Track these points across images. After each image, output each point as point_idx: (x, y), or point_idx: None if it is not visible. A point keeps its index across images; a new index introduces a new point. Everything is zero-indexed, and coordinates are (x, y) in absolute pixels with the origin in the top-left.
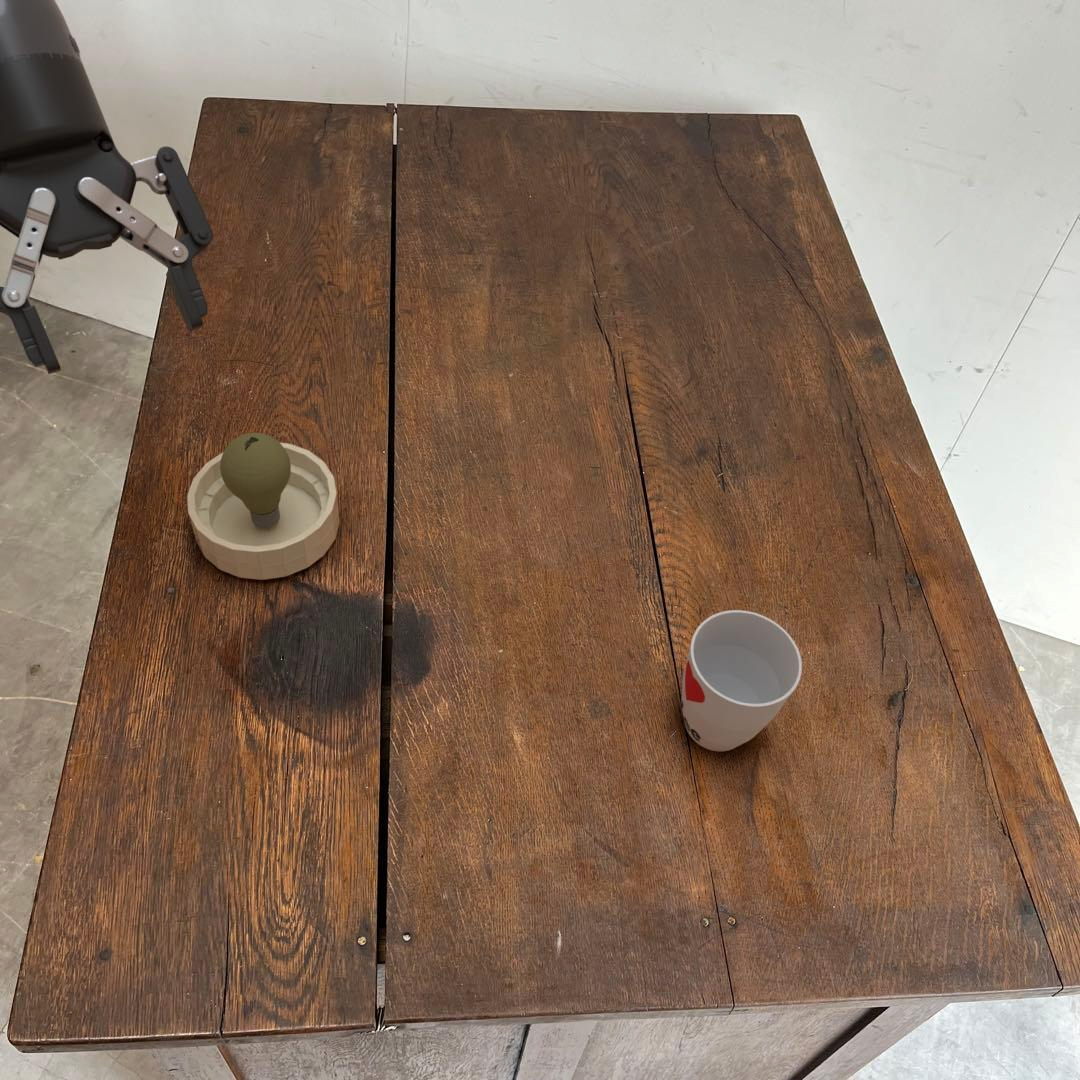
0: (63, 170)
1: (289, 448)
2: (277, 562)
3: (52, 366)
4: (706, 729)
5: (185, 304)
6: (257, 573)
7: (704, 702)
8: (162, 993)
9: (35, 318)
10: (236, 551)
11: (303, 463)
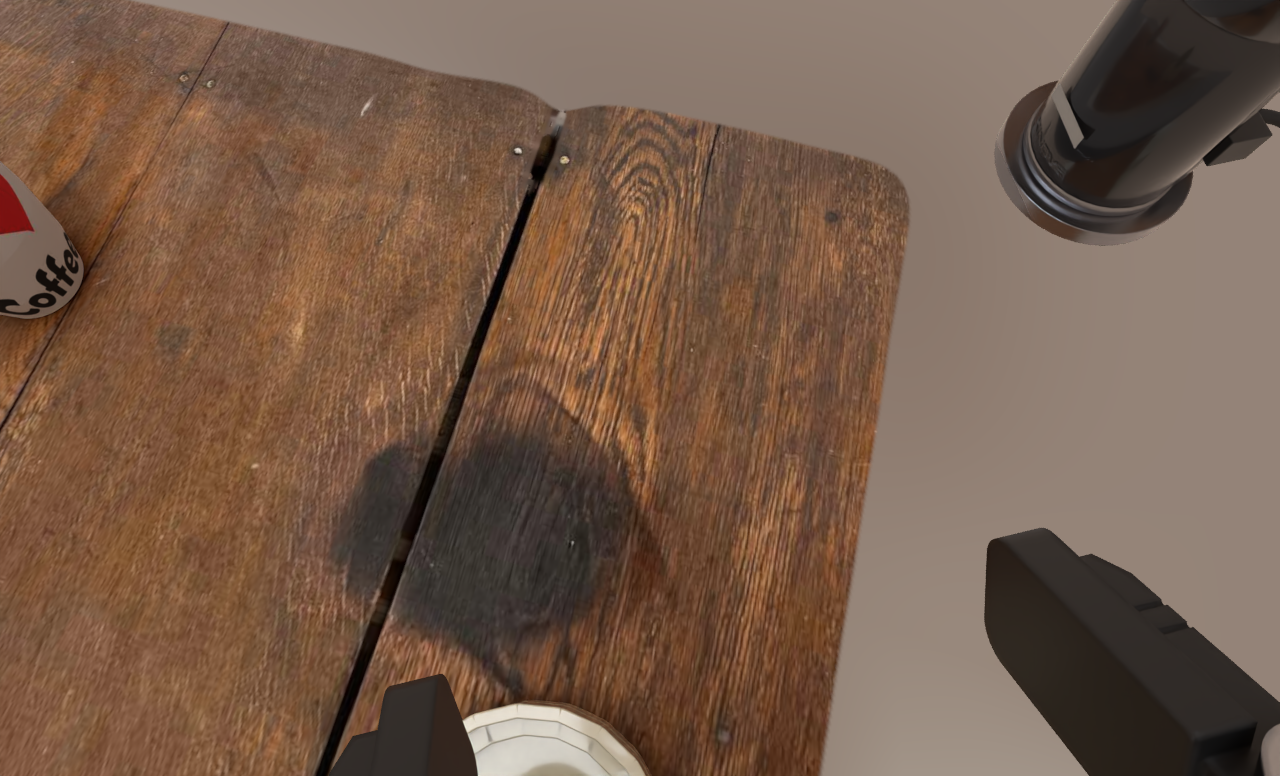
0: None
1: None
2: (533, 702)
3: (1022, 532)
4: (43, 206)
5: (422, 749)
6: (573, 706)
7: (3, 176)
8: (774, 167)
9: (1162, 677)
10: (596, 723)
11: None
